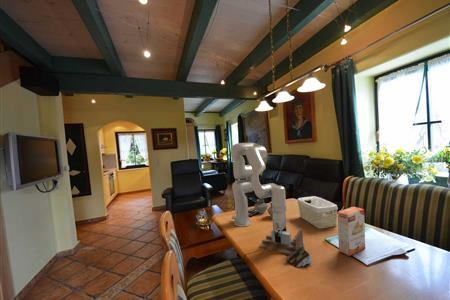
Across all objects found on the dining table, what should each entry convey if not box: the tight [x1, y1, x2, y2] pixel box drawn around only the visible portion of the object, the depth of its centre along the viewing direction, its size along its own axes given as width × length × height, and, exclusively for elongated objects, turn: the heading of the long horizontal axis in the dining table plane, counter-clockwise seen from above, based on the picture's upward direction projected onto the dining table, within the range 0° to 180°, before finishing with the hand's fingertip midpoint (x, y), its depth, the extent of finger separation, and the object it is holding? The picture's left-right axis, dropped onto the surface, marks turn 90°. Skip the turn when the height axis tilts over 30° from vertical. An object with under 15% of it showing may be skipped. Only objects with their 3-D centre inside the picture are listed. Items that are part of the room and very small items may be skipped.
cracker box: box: [337, 206, 366, 257], centre depth 98 cm, size 14×6×21 cm, turn 117°
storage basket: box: [296, 195, 339, 229], centre depth 135 cm, size 24×16×15 cm
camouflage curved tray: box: [285, 243, 312, 268], centre depth 92 cm, size 10×7×12 cm
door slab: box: [270, 229, 292, 246], centre depth 107 cm, size 10×3×7 cm, turn 55°
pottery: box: [253, 198, 273, 220], centre depth 154 cm, size 11×25×12 cm, turn 33°
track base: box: [259, 228, 304, 256], centre depth 107 cm, size 20×14×9 cm
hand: (281, 238), depth 107 cm, fingers open, 9 cm apart
